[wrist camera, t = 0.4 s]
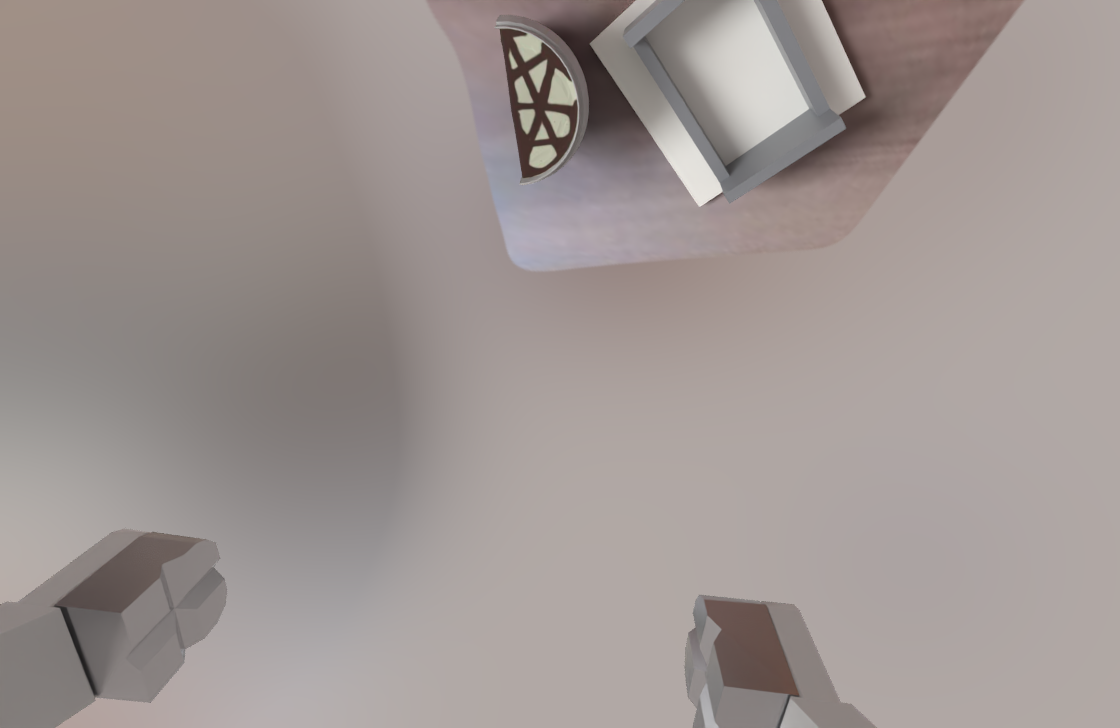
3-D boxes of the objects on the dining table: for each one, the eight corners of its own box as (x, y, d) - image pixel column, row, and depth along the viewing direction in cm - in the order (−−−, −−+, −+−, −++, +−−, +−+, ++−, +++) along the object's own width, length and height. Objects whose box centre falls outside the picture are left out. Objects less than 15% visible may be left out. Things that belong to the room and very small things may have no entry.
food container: (600, 151, 51) (592, 186, 43) (539, 156, 52) (520, 191, 44) (591, -2, 43) (579, 6, 35) (520, 7, 44) (493, 17, 36)
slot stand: (764, -120, 37) (784, -134, 32) (861, 94, 45) (891, 113, 39) (590, 42, 45) (583, 53, 40) (698, 203, 52) (704, 231, 47)
